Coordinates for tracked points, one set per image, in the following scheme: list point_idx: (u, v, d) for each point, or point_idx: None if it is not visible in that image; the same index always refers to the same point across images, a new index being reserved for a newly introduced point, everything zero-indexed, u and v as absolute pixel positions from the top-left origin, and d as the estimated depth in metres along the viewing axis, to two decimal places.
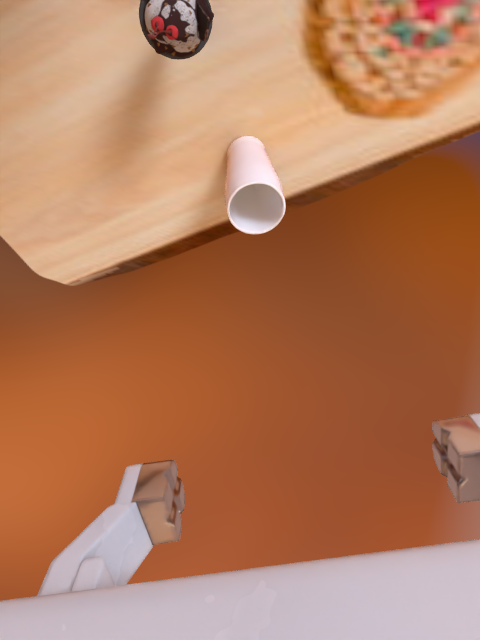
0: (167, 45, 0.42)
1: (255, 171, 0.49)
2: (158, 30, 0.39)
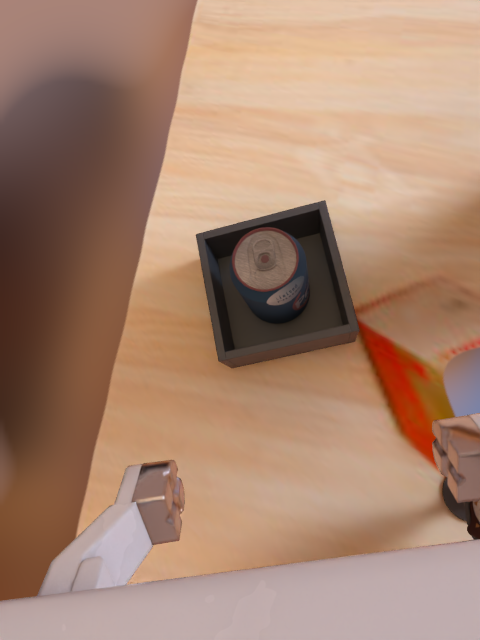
0: None
1: None
2: None
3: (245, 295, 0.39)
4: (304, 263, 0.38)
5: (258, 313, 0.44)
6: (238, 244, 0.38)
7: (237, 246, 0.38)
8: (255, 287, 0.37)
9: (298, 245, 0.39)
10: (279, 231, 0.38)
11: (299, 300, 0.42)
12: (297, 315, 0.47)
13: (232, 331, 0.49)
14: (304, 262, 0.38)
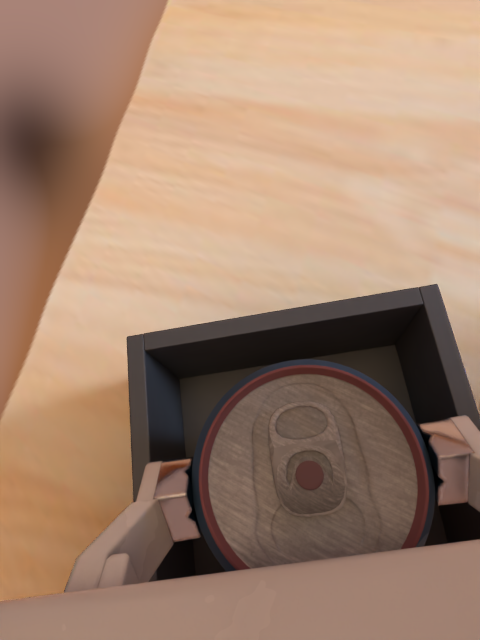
0: None
1: None
2: None
3: None
4: (432, 490, 0.12)
5: None
6: (224, 412, 0.12)
7: (220, 418, 0.12)
8: None
9: (412, 427, 0.12)
10: (359, 383, 0.12)
11: None
12: None
13: (196, 553, 0.22)
14: (432, 486, 0.12)
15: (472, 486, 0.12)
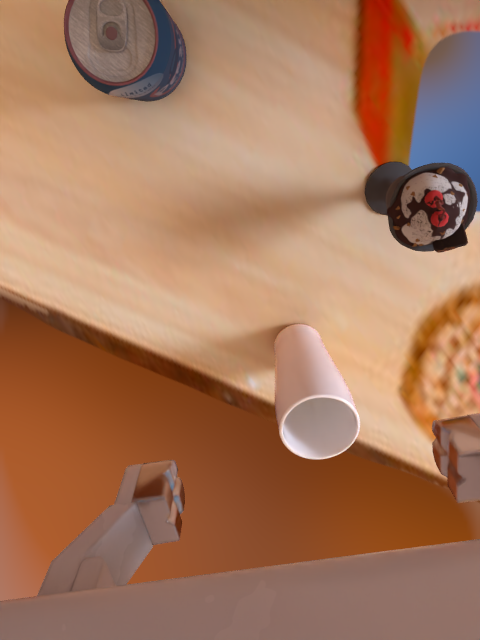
0: (403, 217, 0.33)
1: (347, 390, 0.37)
2: (431, 203, 0.31)
3: (82, 74, 0.29)
4: (166, 55, 0.29)
5: None
6: None
7: None
8: (92, 73, 0.28)
9: (163, 24, 0.28)
10: None
11: (160, 91, 0.34)
12: (162, 97, 0.38)
13: None
14: (166, 53, 0.29)
15: None
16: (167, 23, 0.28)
